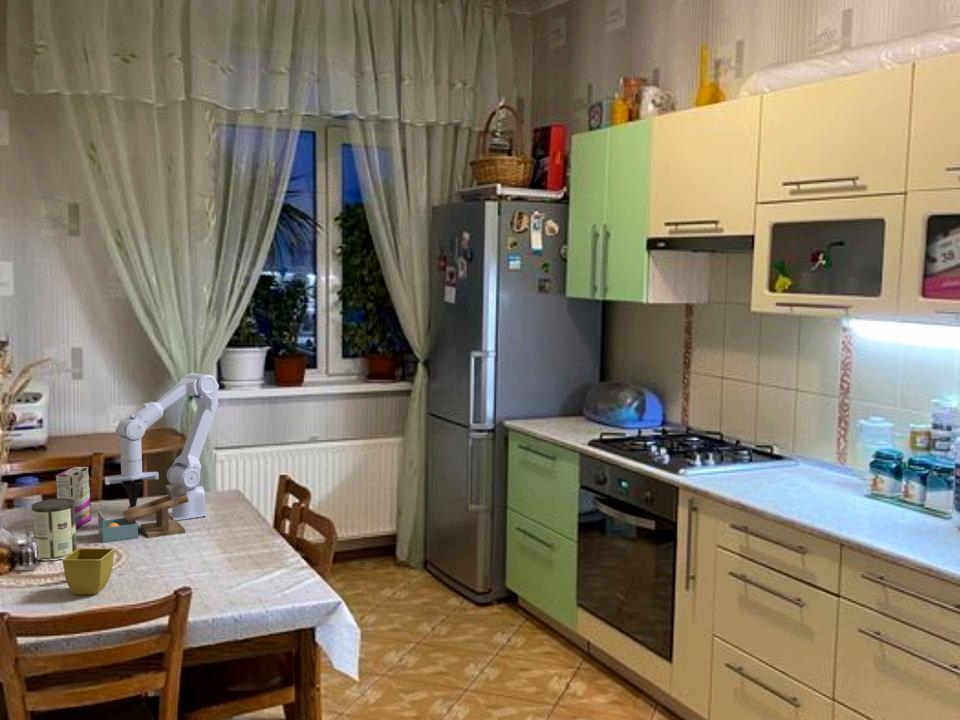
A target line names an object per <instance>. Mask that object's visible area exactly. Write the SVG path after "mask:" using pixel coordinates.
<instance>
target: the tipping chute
mask: <svg viewBox="0 0 960 720" xmlns="http://www.w3.org/2000/svg"><path fill="white" fill-rule="evenodd" d="M165 489H166V492H167V495H165V496H162V497H160V498H156V499H154V500H151V501H148V502H146V503H143V504H139V503H137V502H136V506H135V507H131V506H130V505H128V506H126V508H127V509H126V510H124V511H122V514H123V518H125V519H126V520H127V522H128V523H131V522H133V521H136V522H137V521H140V520H142V519H144V518H147V517H150V516H152V515H156V513H158V512H161V508H162V507H168V510H169V509H172V507H175V506H177V505H180V504H183V503H186V502H188V497H187V495H186V492H185V488H184V485H183V484H182V483H181V482H180V481H177V482H175V483H172V484H171V483H169V484H166V485H165Z"/></svg>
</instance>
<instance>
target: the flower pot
mask: <svg viewBox="0 0 960 720" xmlns="http://www.w3.org/2000/svg"><path fill="white" fill-rule="evenodd" d="M114 557H115V548H106V547H105V548H104V547H103V548H101V547H100V548H94V547H92V548H77V549H76V550H75V551H73V552H72V553H71V554H69V555H68V556H66V557H65V558H64V559H63V560H62V566H63V572H64V577H65V581H66V584H67V585H68V588H69V589H70V590H71V592H72V593H73V594H74V595H98V594H99V593H100V592H101V591H102V590H103V589H104V588H105V587H106V585H107V584H108V583H109V580H110V578H111V576H112V571H113V565H114Z"/></svg>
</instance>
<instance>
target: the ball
mask: <svg viewBox="0 0 960 720" xmlns="http://www.w3.org/2000/svg"><path fill="white" fill-rule="evenodd" d="M115 526H119V525H118V524H117V523H111V524H109V525H108V527H115ZM108 527H107V528H108Z"/></svg>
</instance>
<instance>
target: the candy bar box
mask: <svg viewBox="0 0 960 720" xmlns="http://www.w3.org/2000/svg"><path fill="white" fill-rule="evenodd" d="M89 471H90V470H89V466H73V467H71V468H69V469H66V470H64V471H62V472H61V473H58V474H56V475H55V484H56V485H55V487H56V488H55V489H56V499H58V498H67V499H73V500H75V526H76V530H77V529H79V528H80V527H82V526H84V525H85V524H87V523H89V522H91V520H92V509H91V508H92V505H91V490H90V489H91V487H90V472H89Z"/></svg>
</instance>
